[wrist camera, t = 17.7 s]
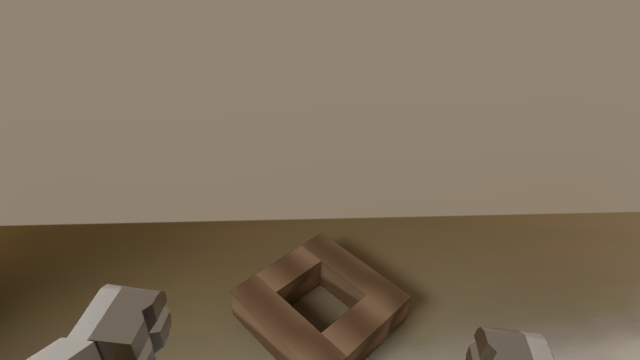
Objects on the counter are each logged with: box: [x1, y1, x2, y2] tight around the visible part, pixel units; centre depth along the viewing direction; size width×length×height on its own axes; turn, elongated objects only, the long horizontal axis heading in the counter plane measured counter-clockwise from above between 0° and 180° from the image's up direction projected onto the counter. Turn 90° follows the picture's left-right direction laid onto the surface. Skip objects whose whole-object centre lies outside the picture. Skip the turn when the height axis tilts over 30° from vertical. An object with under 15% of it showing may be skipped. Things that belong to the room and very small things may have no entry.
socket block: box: [230, 233, 411, 360], centre depth 46 cm, size 14×14×4 cm
